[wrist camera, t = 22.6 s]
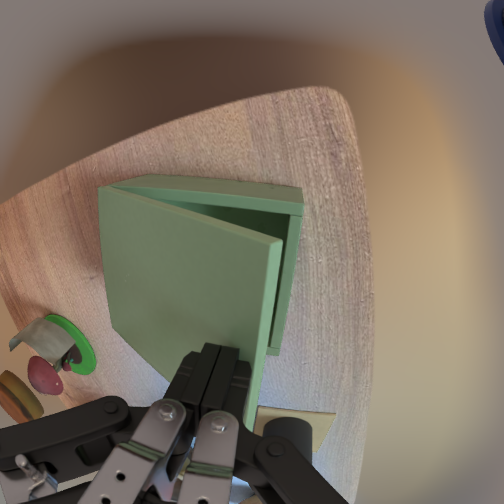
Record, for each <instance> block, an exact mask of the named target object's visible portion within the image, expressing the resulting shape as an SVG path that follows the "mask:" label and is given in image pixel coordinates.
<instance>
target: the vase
mask: <svg viewBox="0 0 504 504" xmlns="http://www.w3.org/2000/svg"><path fill="white" fill-rule="evenodd" d="M238 504H263V503H262V502H261V501H260V499H259V498H258V497H257V495H256V494H254V495H252V496H251V497H249V498H246V499H244V500H242V501H241V502H240V503H238Z"/></svg>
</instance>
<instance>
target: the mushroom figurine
mask: <svg viewBox="0 0 504 504" xmlns="http://www.w3.org/2000/svg"><path fill="white" fill-rule="evenodd" d="M22 341H23V342H25V343H27V344H28V345H29V346H31V347H32V348H33V349H34V350H35V351H36V352H37V353H38V354H39V355H40V356H42V357H43V358H44V359H43V358H42V357H39V356H33V357H31V358H30V360H29V364H28V379H29V381H30V383H31V385H32V386H33V387H34V389H36V390H37V391H38V392H39V393H40V394H44V395H47V394H51V395H59V394H61V393H62V391H63V383H62V381H61V379H60V377H59V376H58V374H57V373H58V372H59V371H60V370H61V368H63V370H64V371H67V372H68V371H73V372H75V373H78V374H81V375H88V374H90V373H92V371H93V370H94V369H95V366H96V359H95V355H94V352H93V350H92V348H91V346H90V344H89V342H88V341H87V339H86V338H85V337H84V335H83V334H82V333H81V332H80V331H79V330H78V329H77V328H76V327H75V326H74V325H73V324H72V323H71V322H69V321H68V320H66V319H65V318H63V317H61V316H58V315H53V314H52V315H48V316H47V317H45V318H44V319H43V318H36V319H35V320H33V321H32V322H31V323H30V324H29V325H27V326H26V327H25V328H24V329H23V330H22V331H20V332H19V333H18V334H17V335H16V336H14V337H13V338H12V339H11V340H10V342H9V347H10V351H12V350H13V349H14V348H15V347H16V346H17V345H18V344H20V342H22ZM46 360H47V361H48V362H50V363H52V364H53V366H51V365H50V364H49V363H48V362H47V361H46ZM0 405H1V406H2V408H3V409H4V410H5V411H6V412H7V413H8V414H9V415H10V416H11V417H12V418H13V419H14V420H15V421H16V422H17V423H19V424H21V423H25V422H28V421H32V420H35V419H39V418H40V417H41V416H42V415H43V414H44V410H43V407H42V405H41V403H40V402H39V400H38V399H37V397H36V396H35V395H34V394H33V392H32V391H31V390H30V389H29V388H28V387H27V386H26V384H25V383H24V382H23V381H21V380H20V379H19V378H18V377H17V376H16V375H15V374H13V373H12V372H10V371H8V370H5V371H4V372H3V373H2V374H1V375H0Z"/></svg>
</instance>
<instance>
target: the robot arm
mask: <svg viewBox="0 0 504 504" xmlns="http://www.w3.org/2000/svg"><path fill="white" fill-rule="evenodd" d="M502 23H503V27H504V8H503V10H502ZM251 375H252V369H251V366H250V363H249V362H248V361H242V360H239V348H235V347H229V346H222V345H218V344H213V343H207V342H205V344H204V346H203V348H202V350H201V353H200V352H195V351H191V352H190V353H189V354H187V355H186V356H185V357H184V358H183V360H182V362H181V364H180V366H179V368H178V369H177V371H176V374H175V375H174V377H173V379H172V381H171V383H170V385H169V387H168V389H167V391H166V393H165V395H164V397H163V399H160V400H157V401H156V402H154V403H153V404H152V405H151V406H149V407H131V406H128V404H127V403H126V401H125V400H124V399H122V398H120V397H117V396H106V397H103V398H100V399H97V400H94V401H91V402H88V403H86V404H83V405H80V406H77V407H74V408H71V409H68V410H65V411H61V412H59V413H55V414H52V415H49V416H45V417H42V418H39V419H35V420H32V421H28V422H25V423H21V424H17V425H13V426H10V427H6V428H2V429H0V485H1V488H2V491H3V494H4V497H5V500H6V503H7V504H229V500H230V492H231V485H232V477H233V476H235V477H237V478H239V479H241V480H243V481H246V482H248V484H249V486H250V487H251V489H252V490H253V491H254V493H255V494H256V495H257V497H258V498H259V499H260V501H261V502H262V503H263V504H349V503H348V502H347V501H346V500H345V499H344V498H343V497H342V496H341V495H340V494H339V493H338V492H337V491H336V490H335V489H334V488H333V487H332V486H331V485H330V484H329V483H328V482H327V481H326V480H325V479H324V478H323V477H322V476H321V474H320V473H319V472H318V471H317V470H316V469H315V468H314V467H313V466H312V465H311V464H310V462H309V461H308V460H307V459H306V458H305V457H304V456H303V455H302V453H301V452H300V451H299V450H298V449H297V448H296V447H295V445H294V444H293V443H292V442H291V441H290V440H288V439H287V438H285V437H282V436H278V435H270V436H266V437H261V436H259V435H257V434H255V433H253V432H251V431H250V430H248V429H247V428H246V426H245V425H244V423H243V418H244V414H245V409H246V404H247V400H248V395H249V389H250V382H251ZM193 437H196V440H195V444H194V448H193V452H192V456H191V460H190V464H189V465H187V467H186V469H185V472H184V476H183V480H182V484H181V488H180V492H179V496H178V501H177V502H170V500H171V497H172V493H173V487H174V484H175V482H176V480H177V477H178V475H179V473H180V471H181V469H182V467H183V465H184V463H185V460H186V458H187V456H188V454H189V452H190V446H191V443H192V440H193ZM98 470H99V471H98ZM95 471H98V473H97V474H96V476H95V477H94V479H93V480H92V481H88V482H85V483H82V484H79V485H77V486H74V487H71V488H68V489H66V490H63V491H60V492H57V487H58V484H59V483H62V482H65V481H68V480H72V479H75V478H78V477H81V476H84V475H87V474H89V473H92V472H95Z"/></svg>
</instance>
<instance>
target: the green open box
mask: <svg viewBox="0 0 504 504" xmlns="http://www.w3.org/2000/svg"><path fill="white" fill-rule="evenodd" d="M107 186H109V187H113V188H116V189H120V190H123V191H127V192H130V193H133V194H137V195H140V196H144V197H147V198H150V199H154V200H157V201H160V202H164V203H167V204H170V205H174V206H177V207H180V208H183V209H187V210H190V211H193V212H196V213H200V214H203V215H206V216H209V217H213V218H216V219H219V220H222V221H225V222H228V223H232V224H235V225H238V226H241V227H244V228H247V229H251V230H254V231H257V232H260V233H263V234H266V235H269V236H272V237H275V238H278V239H281V240H283V245H282V252H281V259H280V266H279V273H278V280H277V287H276V294H275V301H274V307H273V314H272V320H271V326H270V333H269V339H268V345H267V351H266V354H267V355H273V356H279V353H280V347H281V343H282V338H283V333H284V327H285V322H286V317H287V311H288V306H289V300H290V294H291V289H292V283H293V277H294V271H295V265H296V259H297V252H298V246H299V240H300V233H301V226H302V219H303V213H304V199H303V193H302V188H296V187H288V186H280V185H273V184H264V183H256V182H246V181H237V180H227V179H216V178H204V177H191V176H176V175H160V174H147V175H143V176H139V177H135V178H131V179H127V180H123V181H120V182H116V183H112V184H109V185H107Z"/></svg>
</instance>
